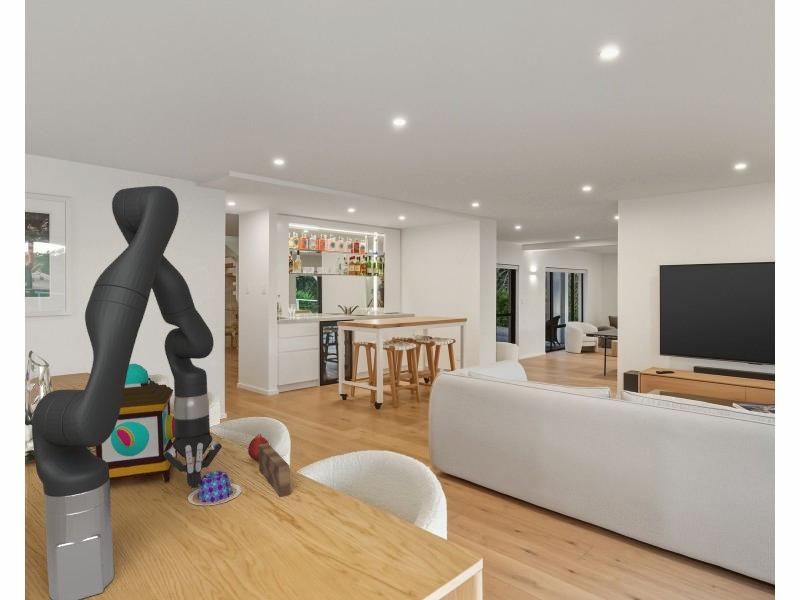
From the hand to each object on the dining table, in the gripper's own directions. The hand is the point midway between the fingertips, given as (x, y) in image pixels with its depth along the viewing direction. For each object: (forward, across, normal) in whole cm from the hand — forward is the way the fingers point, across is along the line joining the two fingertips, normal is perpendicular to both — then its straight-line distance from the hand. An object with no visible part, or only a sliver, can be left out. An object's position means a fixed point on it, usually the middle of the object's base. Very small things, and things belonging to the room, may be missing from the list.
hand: (194, 486), depth 114 cm
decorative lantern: (+3, -11, +24) cm, 26 cm away
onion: (+3, +19, +16) cm, 25 cm away
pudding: (+4, +5, 0) cm, 6 cm away
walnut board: (+3, +19, 0) cm, 19 cm away
